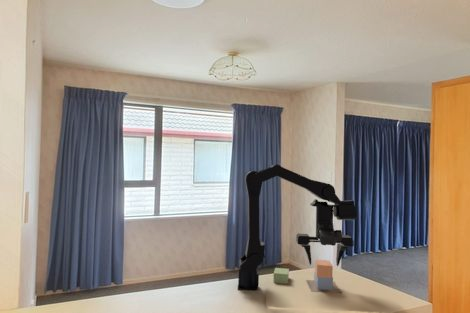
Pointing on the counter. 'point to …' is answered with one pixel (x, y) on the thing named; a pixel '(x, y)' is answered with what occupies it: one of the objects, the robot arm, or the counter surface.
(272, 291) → the counter surface
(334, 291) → the walnut board
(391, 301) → the counter surface
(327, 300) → the counter surface
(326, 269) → the terracotta brick
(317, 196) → the robot arm
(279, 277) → the olive brick
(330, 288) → the base brick
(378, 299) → the counter surface
